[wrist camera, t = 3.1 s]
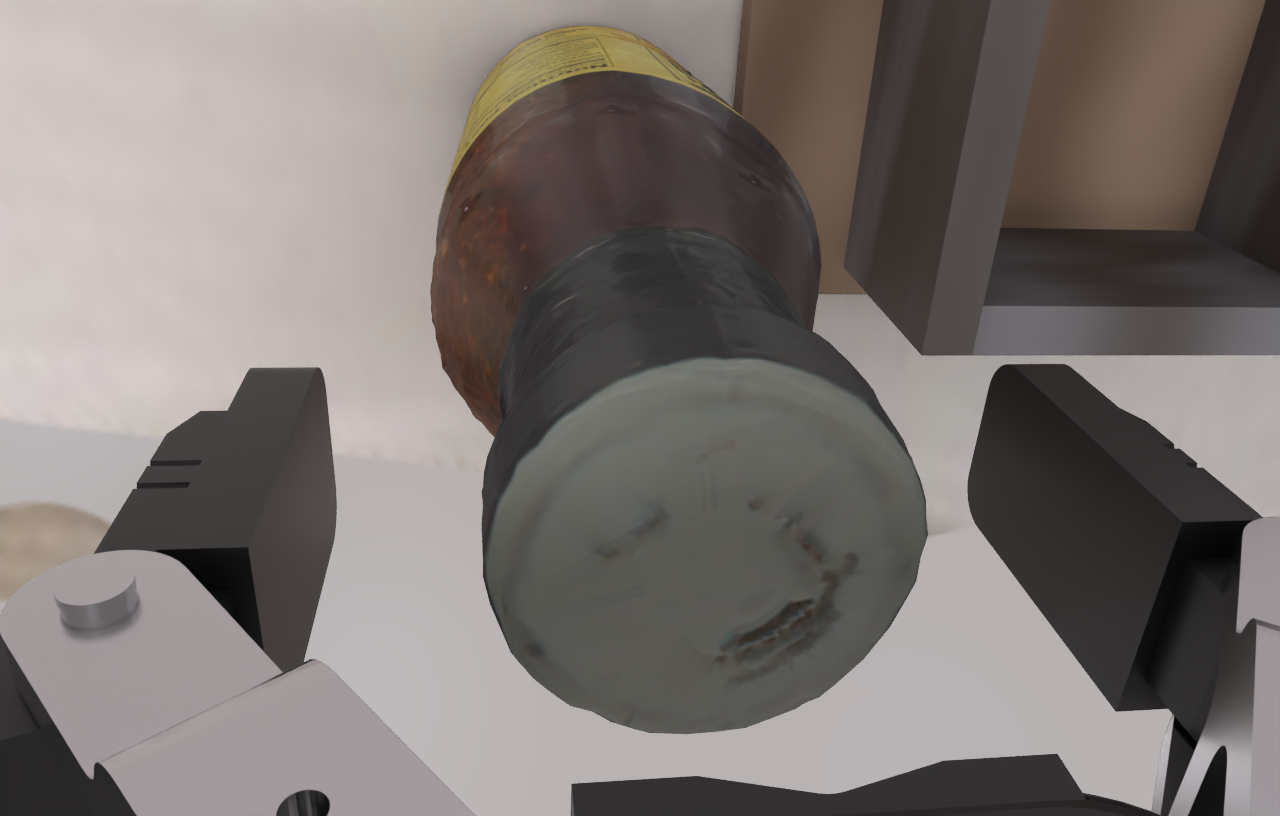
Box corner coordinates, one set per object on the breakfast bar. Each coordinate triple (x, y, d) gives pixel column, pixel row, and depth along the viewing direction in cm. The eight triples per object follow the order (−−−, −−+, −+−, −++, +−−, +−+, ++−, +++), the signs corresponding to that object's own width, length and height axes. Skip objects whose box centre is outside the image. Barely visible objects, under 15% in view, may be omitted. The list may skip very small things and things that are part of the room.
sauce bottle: (709, 236, 28) (1041, 807, 11) (488, 270, 28) (455, 916, 10) (685, -15, 25) (1097, 209, 8) (437, 22, 25) (268, 341, 7)
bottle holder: (1484, -252, 25) (1809, -299, 19) (1289, 286, 31) (1483, 384, 25) (771, -313, 22) (871, -388, 16) (718, 281, 29) (775, 388, 23)
